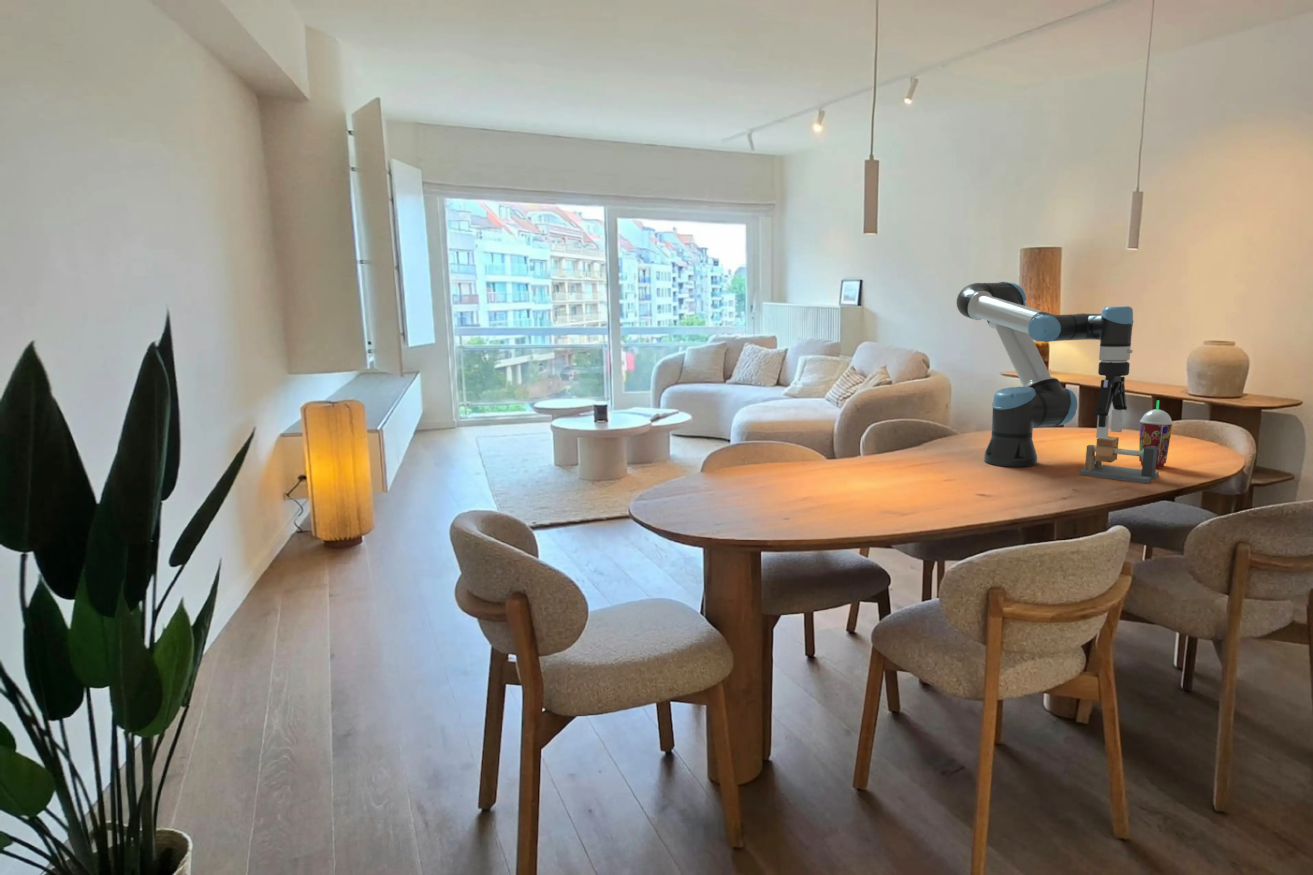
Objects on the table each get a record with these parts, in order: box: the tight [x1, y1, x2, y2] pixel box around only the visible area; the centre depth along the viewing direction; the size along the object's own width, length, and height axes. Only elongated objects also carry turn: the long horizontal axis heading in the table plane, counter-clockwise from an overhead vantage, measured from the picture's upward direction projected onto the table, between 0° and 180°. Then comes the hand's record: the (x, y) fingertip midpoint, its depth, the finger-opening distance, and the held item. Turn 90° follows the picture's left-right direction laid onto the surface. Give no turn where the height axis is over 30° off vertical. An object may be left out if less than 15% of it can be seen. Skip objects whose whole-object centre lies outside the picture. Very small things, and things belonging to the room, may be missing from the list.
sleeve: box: [1095, 435, 1120, 464], centre depth 218 cm, size 4×6×6 cm, turn 134°
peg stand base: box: [1079, 444, 1160, 484], centre depth 216 cm, size 17×12×9 cm
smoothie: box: [1138, 399, 1174, 469], centre depth 225 cm, size 8×8×20 cm
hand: (1109, 435), depth 217 cm, fingers open, 13 cm apart
